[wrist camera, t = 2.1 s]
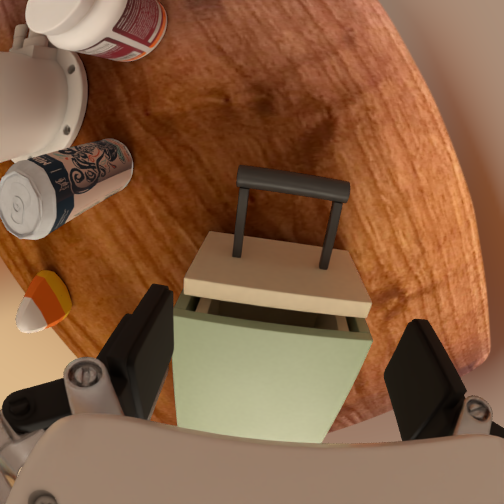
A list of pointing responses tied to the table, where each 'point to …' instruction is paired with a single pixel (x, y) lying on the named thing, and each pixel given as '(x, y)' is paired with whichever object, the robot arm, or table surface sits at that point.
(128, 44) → the pill bottle
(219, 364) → the cabinet
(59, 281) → the candy corn
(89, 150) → the beer can
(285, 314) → the drawer
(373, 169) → the table surface
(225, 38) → the table surface
